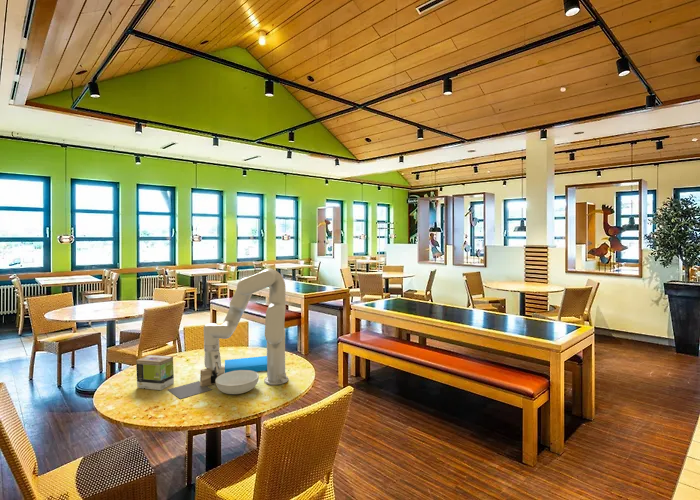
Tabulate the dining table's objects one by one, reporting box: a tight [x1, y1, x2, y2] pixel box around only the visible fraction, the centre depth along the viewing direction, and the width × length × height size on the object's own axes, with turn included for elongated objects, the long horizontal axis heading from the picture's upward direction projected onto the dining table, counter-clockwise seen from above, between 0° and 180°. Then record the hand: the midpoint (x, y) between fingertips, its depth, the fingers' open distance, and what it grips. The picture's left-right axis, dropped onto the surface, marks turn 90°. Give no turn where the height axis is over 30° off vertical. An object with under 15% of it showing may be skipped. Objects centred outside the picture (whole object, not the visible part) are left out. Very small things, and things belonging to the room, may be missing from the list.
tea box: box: [135, 354, 175, 391], centre depth 210 cm, size 15×10×15 cm
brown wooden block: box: [199, 365, 225, 387], centre depth 211 cm, size 3×12×8 cm, turn 134°
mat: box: [167, 380, 213, 400], centre depth 203 cm, size 16×16×1 cm
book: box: [224, 355, 267, 373], centre depth 236 cm, size 17×4×25 cm
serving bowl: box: [215, 370, 259, 395], centre depth 203 cm, size 21×21×7 cm
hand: (212, 381), depth 212 cm, fingers closed on brown wooden block, 2 cm apart
